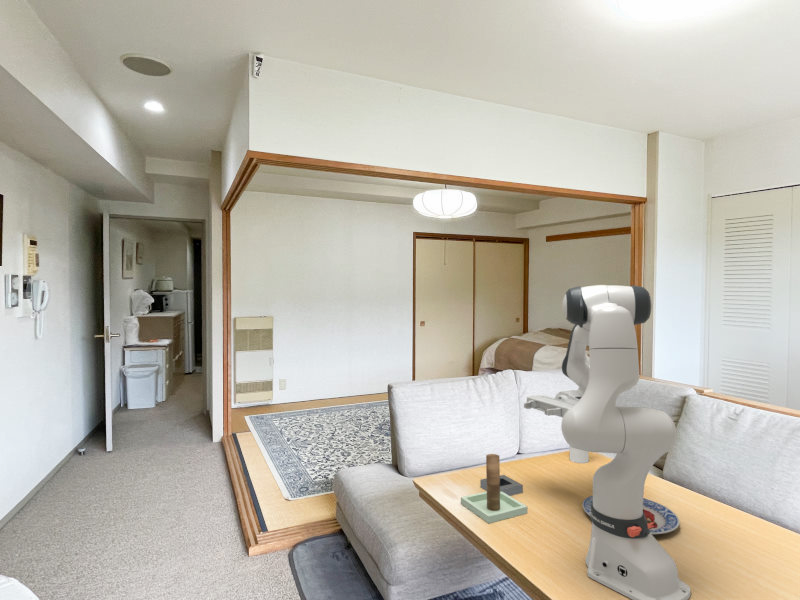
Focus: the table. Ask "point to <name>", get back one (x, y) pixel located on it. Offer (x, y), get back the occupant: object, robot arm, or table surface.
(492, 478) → the dowel
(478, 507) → the tray
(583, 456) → the cylindrical container
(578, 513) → the table surface
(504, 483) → the socket block
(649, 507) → the ceramic plate
